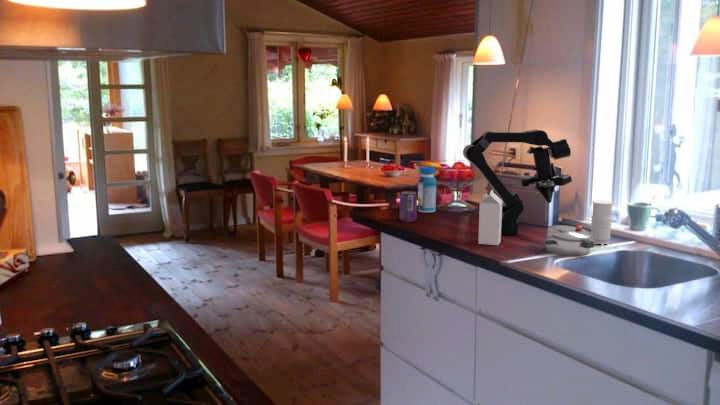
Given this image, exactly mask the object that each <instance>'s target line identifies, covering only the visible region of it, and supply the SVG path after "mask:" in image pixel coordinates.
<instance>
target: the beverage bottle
mask: <svg viewBox="0 0 720 405" xmlns="http://www.w3.org/2000/svg"><path fill="white" fill-rule="evenodd" d="M419 174H420V177H419V178H418V181H417V183H418V186H417V212H420V213H434V212H436V204H437V203H436V202H437V188H438V187H437V180H436V177H435V176H434V175H435V174H436V167H435V166H429V165H428V166H425V165H424V166H420V168H419Z"/></svg>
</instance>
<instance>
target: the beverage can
mask: <svg viewBox="0 0 720 405" xmlns="http://www.w3.org/2000/svg"><path fill="white" fill-rule="evenodd" d="M417 212H418V195H417V192H416V191H413V190H411V191H407V190H406V191H401V193H400V196H399V219H400V221H403V222H405V223H410V222H411V223H412V222H414V221H416V220H417V219H418V218H417V216H418V215H417V214H418V213H417Z"/></svg>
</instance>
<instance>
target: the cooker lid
mask: <svg viewBox="0 0 720 405" xmlns="http://www.w3.org/2000/svg"><path fill="white" fill-rule="evenodd" d="M546 232H547V235H548V234H549V235H551V236H553V237H556V238H560V239H564V240H571V241H586V240H589V239H590V240H591V239H592V238H591V236H592V234H591V231H589V230H587V229H584V228H583V226H582V225H578V224H577V225H576V226H574V225H573V226H572V225H564V224H563V225H562V224H561V225H551V226H548V227H547V231H546Z"/></svg>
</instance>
